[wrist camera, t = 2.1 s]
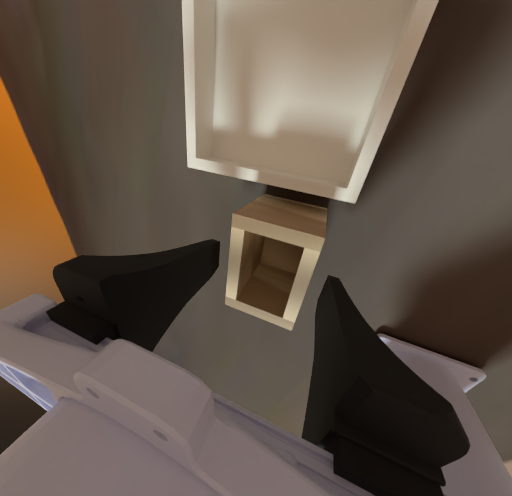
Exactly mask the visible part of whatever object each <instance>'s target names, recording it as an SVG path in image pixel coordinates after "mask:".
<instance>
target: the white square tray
mask: <svg viewBox="0 0 512 496" xmlns="http://www.w3.org/2000/svg"><path fill="white" fill-rule="evenodd" d="M438 1H439V0H182V19H183V48H184V76H185V105H186V134H187V163H188V167H190V168H195V169H199V170H204V171H208V172H213V173H217V174H222V175H227V176H231V177H236V178H240V179H245V180H249V181H254V182H259V183H263V184H268V185H272V186H277V187H281V188H286V189H291V190H295V191H300V192H304V193H309V194H313V195H318V196H323V197H327V198H332V199H336V200H341V201H345V202H350V203H356V200H357V198H358V196H359V193H360V191H361V188H362V186H363V183H364V181H365V179H366V176H367V174H368V171H369V169H370V166H371V164H372V162H373V159H374V157H375V154H376V152H377V149H378V147H379V145H380V142H381V140H382V137H383V135H384V132H385V130H386V128H387V125H388V123H389V120H390V118H391V115H392V113H393V111H394V108H395V106H396V103H397V101H398V98H399V96H400V94H401V91H402V89H403V86H404V84H405V81H406V79H407V77H408V74H409V72H410V69H411V67H412V64H413V62H414V59H415V57H416V55H417V52H418V50H419V47H420V45H421V42H422V40H423V38H424V35H425V33H426V30H427V28H428V25H429V23H430V21H431V18H432V16H433V13H434V11H435V8H436V6H437V4H438Z"/></svg>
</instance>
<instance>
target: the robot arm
mask: <svg viewBox="0 0 512 496" xmlns="http://www.w3.org/2000/svg"><path fill="white" fill-rule="evenodd" d="M219 252H220V242H219V241H216V240H213V239H211V240H206V241H202V242H199V243H195V244H191V245H188V246H184V247H180V248H176V249H172V250H167V251H162V252H156V253H149V254H139V255H127V256H86V255H82V256H78V257H76V258H73V259H71V260H69V261H66V262H64V263H61V264H59V265H57V266H55V267H54V270H53V277H54V280H55V282H56V284H57V286H58V288H59V290H60V292H61V294H62V296H63V298H64V300H65V301H64V302H62V303H60V304H58V305H57V303H55V301H53V300H52V299H50V298H48V297H46V296H43V295H42V294H39V293H35V294H33V295H31V296H29V297H27V298H25V299H22V300H21V301H18V302H16V303H14V304H12V305H10V306H8V307H6V308H4V309H2V310H0V376H1V377H3V378H4V379H6V380H7V381H8V382H10V383H11V384H12V385H14V386H15V387H16V388H18V389H19V390H20V391H22V392H23V393H24V394H26V395H27V396H28V397H30V398H31V399H32V400H33V401H35V402H36V403H37V404H39V405H40V406H41V407H43V408H44V409H45V410H47V411H48V412H47V413H46V414H45V415H43V417H41V418H40V419H39V420H38V421H37V422H36V423H35V424H34V425H33V426H31V427H30V428H29V429H28V430H27V431H26V432H25V433H24V434H23V435H22V436H21V437H19V438H18V439H17V440H16V441H15V442H14V443H13V444H12V445H11V446H10V447H8V448H7V449H6V450H5V451H4V452H3V453H2V454H1V455H0V496H512V477H511V475H510V474H509V472H508V470H507V468H506V467H505V465H504V463H503V461H502V459H501V458H500V456H499V454H498V452H497V450H496V449H495V447H494V445H493V443H492V441H491V440H490V438H489V436H488V434H487V432H486V431H485V429H484V427H483V425H482V423H481V422H480V420H479V418H478V416H477V414H476V413H475V411H474V409H473V407H472V405H471V404H470V402H469V400H468V398H467V396H466V395H465V392H467V391H468V390H470V389H471V388H472V387H474V386H475V385H477V384H478V383H480V382H481V381H482V380H484V379H485V378H486V374H485V373H484V371H483V370H481V369H479V368H476V367H474V366H471V365H468V364H465V363H462V362H460V361H457V360H454V359H451V358H449V357H446V356H443V355H440V354H437V353H435V352H432V351H429V350H426V349H423V348H421V347H418V346H415V345H412V344H410V343H407V342H404V341H401V340H398V339H396V338H393V337H390V336H387V335H384V334H376V333H375V332H374V331H373V329H372V328H371V327H370V326H369V325H368V323H367V322H366V321H365V319H364V318H363V317H362V315H361V314H360V312H359V311H358V309H357V308H356V306H355V305H354V303H353V302H352V300H351V299H350V297H349V295H348V294H347V292H346V290H345V288H344V286H343V285H342V283H341V281H340V279H339V278H336V277H333V276H329V275H328V277H327V279H326V282H325V284H324V287H323V289H322V291H321V294H320V296H319V299H318V302H317V308H316V314H315V347H314V361H313V368H312V376H311V383H310V390H309V396H308V403H307V409H306V415H305V421H304V427H303V433H302V438H300V437H299V436H297V435H295V434H293V433H291V432H289V431H287V430H285V429H283V428H281V427H279V426H277V425H275V424H273V423H272V422H270V421H268V420H266V419H264V418H262V417H260V416H258V415H256V414H254V413H252V412H250V411H248V410H246V409H244V408H243V407H241V406H239V405H237V404H235V403H233V402H231V401H229V400H227V399H225V398H223V397H221V396H219V395H217V394H216V393H214V392H212V391H211V390H210V389H209V388H208V387H207V386H206V384H205V383H204V382H203V381H202V380H201V379H200V378H198V377H197V376H195V375H194V374H192V373H191V372H189V371H187V370H186V369H184V368H182V367H180V366H178V365H176V364H174V363H172V362H170V361H168V360H166V359H164V358H162V357H160V356H158V355H156V354H154V353H152V351H153V350H154V348H155V347H156V345H157V343H158V342H159V341H160V339H161V338H162V336H163V335H164V333H165V332H166V330H167V329H168V327H169V326H170V325H171V323H172V322H173V320H174V319H175V318H176V316H177V315H178V314H179V312H180V311H181V310H182V308H183V307H184V306H185V305H186V303H187V302H188V301H189V300H190V299H191V298H192V297H193V296H194V295H195V294H196V293H197V292H198V291H199V290H200V288H201V287H202V286H203V285H204V284H205V283H206V282H207V281H208V280H209V279H210V278H211V277H212V275H213V274H214V273H215V271H216V270H217V268H218V267H219Z"/></svg>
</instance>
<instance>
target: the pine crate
mask: <svg viewBox="0 0 512 496" xmlns="http://www.w3.org/2000/svg"><path fill="white" fill-rule="evenodd" d="M326 221H327V208H324V207H320V206H315V205H311V204H307V203H302V202H298V201H294V200H290V199H285V198H281V197H277V196H272V195H268V194H264V195H262V196H260V197H259V198H257V199H256V200H254V201H252V202H251V203H249V204H247V205H246V206H244V207H242V208H241V209H239V210H237V211H236V212H234V213H233V216H232V228H231V240H230V251H229V263H228V275H227V287H226V299H225V304H226V305H228V306H231V307H233V308H236V309H238V310H241V311H243V312H246V313H248V314H251V315H253V316H256V317H258V318H261V319H263V320H266V321H268V322H271V323H274V324H276V325H279V326H281V327H284V328H286V329H289V330H291V331H292V328H293V325H294V323H295V320H296V317H297V314H298V312H299V309H300V306H301V303H302V301H303V298H304V295H305V293H306V290H307V287H308V284H309V282H310V279H311V276H312V273H313V271H314V268H315V265H316V262H317V260H318V257H319V254H320V251H321V249H322V246H323V243H324V240H325V236H326Z"/></svg>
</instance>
